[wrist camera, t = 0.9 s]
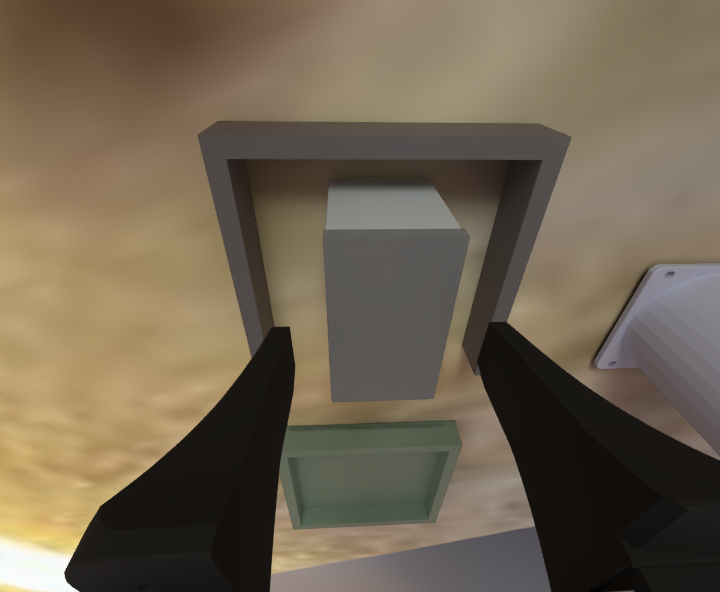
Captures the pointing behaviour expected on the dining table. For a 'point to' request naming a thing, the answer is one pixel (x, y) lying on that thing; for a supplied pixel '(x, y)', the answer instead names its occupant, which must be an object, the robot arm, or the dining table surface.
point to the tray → (367, 473)
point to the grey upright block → (389, 286)
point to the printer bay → (396, 142)
